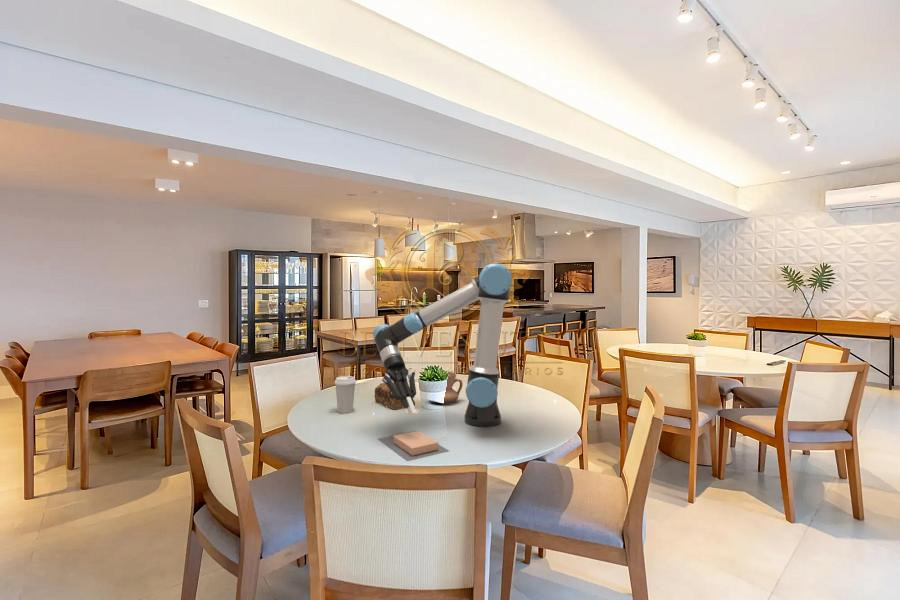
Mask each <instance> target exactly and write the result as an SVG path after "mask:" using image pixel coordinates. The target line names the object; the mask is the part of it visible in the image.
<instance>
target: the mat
mask: <svg viewBox="0 0 900 600" xmlns="http://www.w3.org/2000/svg"><path fill="white" fill-rule="evenodd" d="M411 432H412V431H410V432H408V433H411ZM413 432H416V430H415V431H413ZM405 433H406V432H404V433H403V434H405ZM400 434H401V433H400ZM400 434H399V433H398V435H400ZM395 435H396V434H395ZM395 435H390V436H385V437H384V436H383V437H379V438H377V440H378V441H379V442H380V443H382V444H383V445H385V446H386V447H387V448H388V449H390V450H391V451H392V452H394V453H395V454H397V455H398V456H400V457H401V458H402V459H403V460H405V461H406V462H410V461H411V462H412V461H414V460H419V459H423V458H427V457H430V456H435V455H439V454H440V455H441V454H444V453H447V452H450V450H449V449H447V448H446V447H444V446H442V445H440V444H439V443H438V450H434V451H430V452H426V453H421V454H417V455H413V456H412V455H410V454H409V453H408V452H406V451H405V450H403V449H402V448H400V447H399V446H398V445H396V444H395V443H393V436H395Z"/></svg>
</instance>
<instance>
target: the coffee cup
mask: <svg viewBox="0 0 900 600" xmlns="http://www.w3.org/2000/svg"><path fill="white" fill-rule="evenodd" d="M355 378H356V377H354V376H352V375H344V376H343V375H341V376H338V377H336V378H335V380H334V383H333V384H335V385H334V386H335V393H336V395H335V396H336V406H337V412H338V413H339V412H340V414H348V413H349V412H350V413H352V412H353V411H354V401H355V400H354V399H355V388H356V383H357V380H356V379H355Z"/></svg>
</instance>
